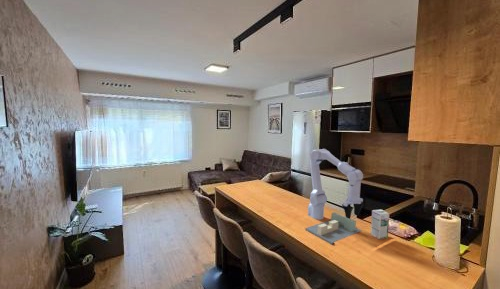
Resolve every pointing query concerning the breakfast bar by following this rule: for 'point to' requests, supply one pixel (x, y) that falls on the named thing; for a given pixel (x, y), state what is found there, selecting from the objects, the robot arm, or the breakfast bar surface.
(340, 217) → the cross plate
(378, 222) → the syrup box
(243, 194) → the breakfast bar surface
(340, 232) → the slotted base
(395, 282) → the breakfast bar surface
